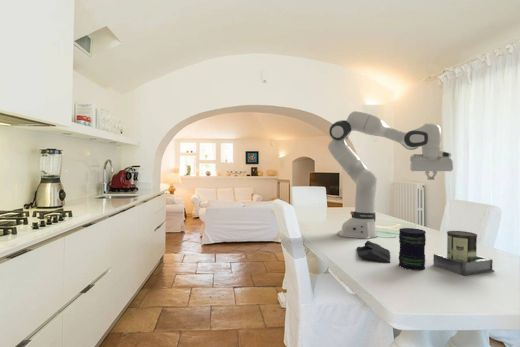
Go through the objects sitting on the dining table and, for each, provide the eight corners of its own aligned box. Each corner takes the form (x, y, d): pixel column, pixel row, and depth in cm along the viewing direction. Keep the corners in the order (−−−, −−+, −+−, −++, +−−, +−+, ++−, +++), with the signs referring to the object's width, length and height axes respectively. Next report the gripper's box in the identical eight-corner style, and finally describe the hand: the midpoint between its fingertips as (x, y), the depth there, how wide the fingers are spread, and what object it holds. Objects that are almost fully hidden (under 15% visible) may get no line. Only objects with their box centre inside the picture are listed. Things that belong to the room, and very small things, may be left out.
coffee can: (470, 264, 130) (470, 231, 129) (481, 272, 120) (482, 236, 119) (442, 262, 132) (443, 229, 132) (451, 270, 122) (452, 235, 122)
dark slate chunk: (354, 261, 135) (354, 250, 135) (357, 248, 156) (357, 239, 156) (391, 265, 130) (392, 254, 130) (390, 251, 150) (390, 242, 150)
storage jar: (424, 272, 120) (424, 234, 119) (396, 267, 125) (397, 231, 125) (426, 265, 128) (426, 229, 128) (400, 261, 133) (400, 227, 133)
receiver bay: (433, 264, 129) (433, 254, 129) (461, 261, 134) (461, 250, 134) (464, 275, 116) (465, 264, 116) (494, 271, 121) (494, 260, 121)
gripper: (412, 153, 164) (411, 179, 164) (454, 153, 160) (454, 180, 160) (408, 154, 170) (408, 179, 170) (449, 154, 166) (449, 179, 166)
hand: (430, 179), depth 165 cm, fingers closed
